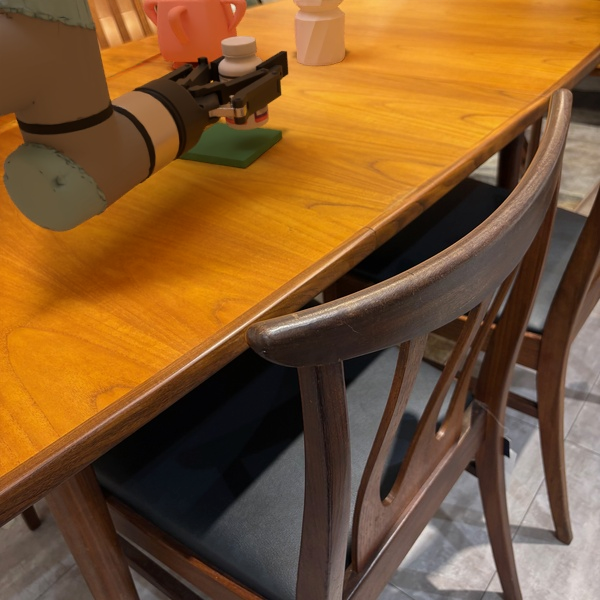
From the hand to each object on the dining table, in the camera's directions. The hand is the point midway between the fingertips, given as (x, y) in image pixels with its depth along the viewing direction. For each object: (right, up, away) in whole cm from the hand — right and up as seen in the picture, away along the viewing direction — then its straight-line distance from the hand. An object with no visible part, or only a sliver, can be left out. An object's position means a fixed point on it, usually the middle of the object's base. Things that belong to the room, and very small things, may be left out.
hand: (262, 60), depth 76 cm
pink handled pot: (-13, +14, +37) cm, 42 cm away
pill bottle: (-2, -8, 0) cm, 8 cm away
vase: (+8, +13, +34) cm, 37 cm away
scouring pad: (-4, -10, +3) cm, 11 cm away
